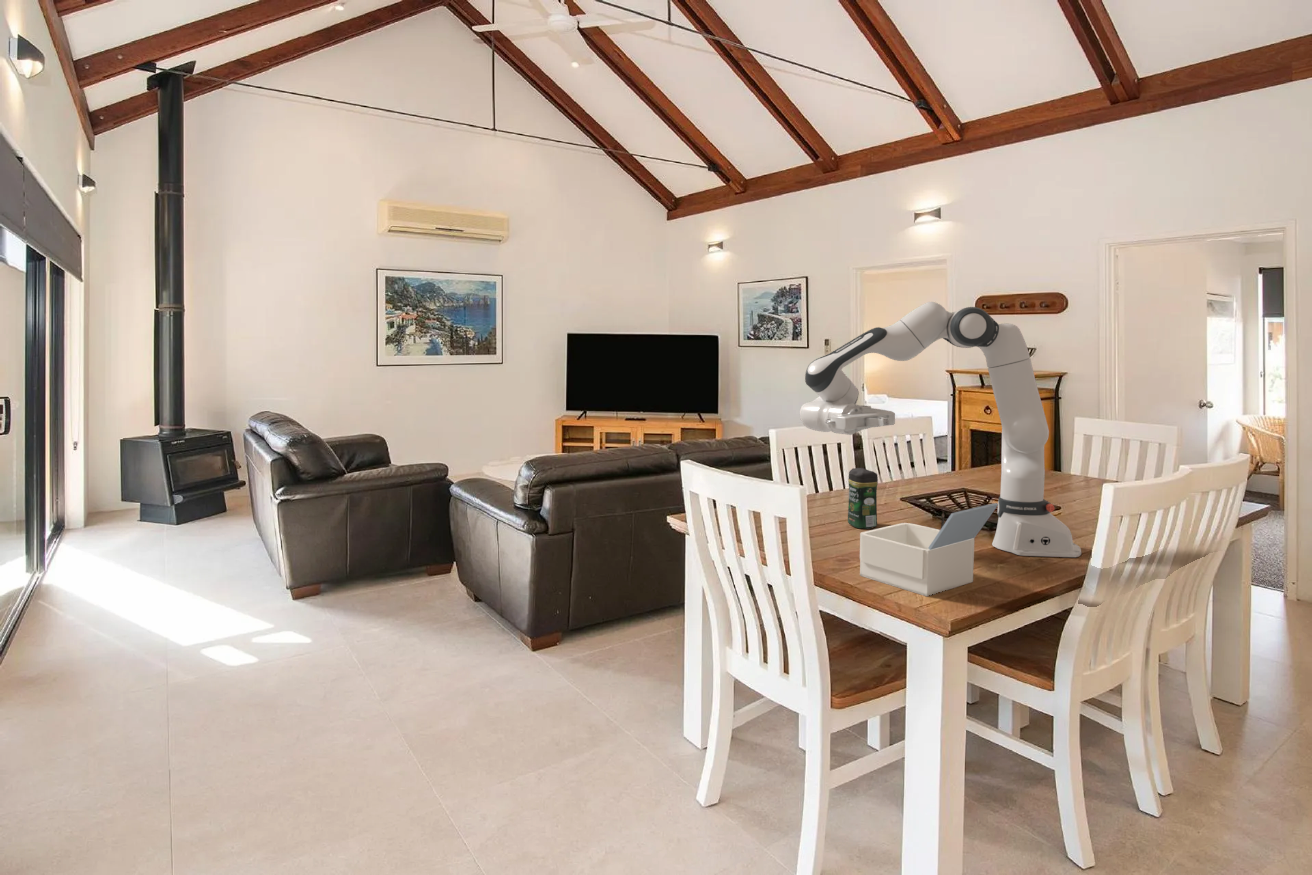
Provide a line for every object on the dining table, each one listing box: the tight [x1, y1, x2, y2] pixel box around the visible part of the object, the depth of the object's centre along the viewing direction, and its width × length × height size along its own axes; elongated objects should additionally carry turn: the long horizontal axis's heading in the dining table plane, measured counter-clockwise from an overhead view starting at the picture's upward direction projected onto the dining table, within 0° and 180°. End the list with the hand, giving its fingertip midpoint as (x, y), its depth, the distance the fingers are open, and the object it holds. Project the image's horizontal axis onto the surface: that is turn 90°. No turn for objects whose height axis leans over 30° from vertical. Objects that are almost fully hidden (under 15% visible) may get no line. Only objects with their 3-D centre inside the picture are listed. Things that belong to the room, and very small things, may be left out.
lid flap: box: [929, 502, 998, 550], centre depth 180 cm, size 11×17×1 cm
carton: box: [859, 522, 975, 597], centre depth 192 cm, size 21×19×11 cm
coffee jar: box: [847, 467, 879, 530], centre depth 246 cm, size 10×8×19 cm
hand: (886, 422), depth 206 cm, fingers closed
